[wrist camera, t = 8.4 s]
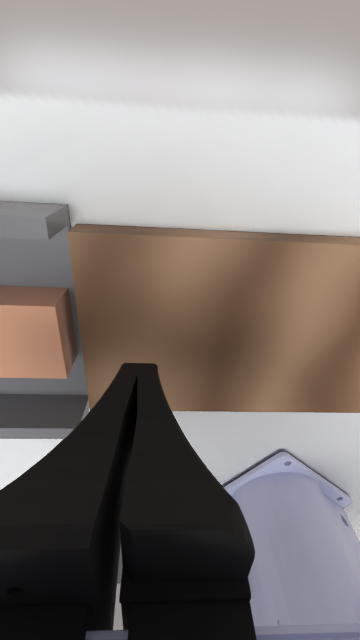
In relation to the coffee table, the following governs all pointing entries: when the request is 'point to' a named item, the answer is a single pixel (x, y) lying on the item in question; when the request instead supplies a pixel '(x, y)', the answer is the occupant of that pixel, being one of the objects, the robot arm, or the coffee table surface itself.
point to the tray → (56, 271)
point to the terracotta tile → (36, 332)
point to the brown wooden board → (222, 315)
